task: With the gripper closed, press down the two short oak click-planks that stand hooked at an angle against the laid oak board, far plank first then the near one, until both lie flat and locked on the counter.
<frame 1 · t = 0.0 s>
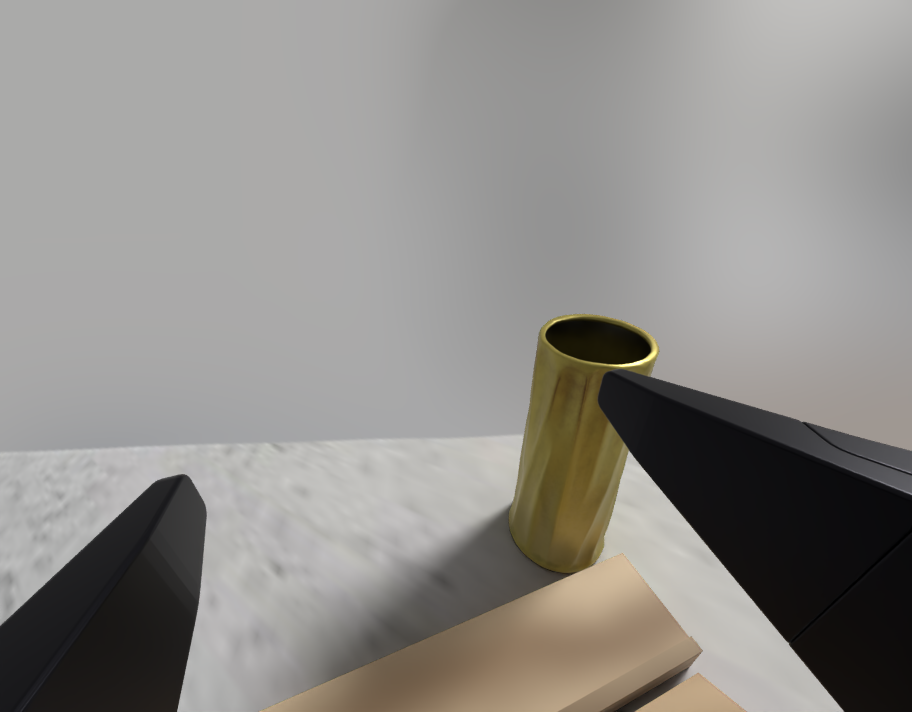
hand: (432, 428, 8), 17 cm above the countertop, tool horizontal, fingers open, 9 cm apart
laid board: (486, 695, 16), on the countertop
vase: (554, 528, 24), on the countertop
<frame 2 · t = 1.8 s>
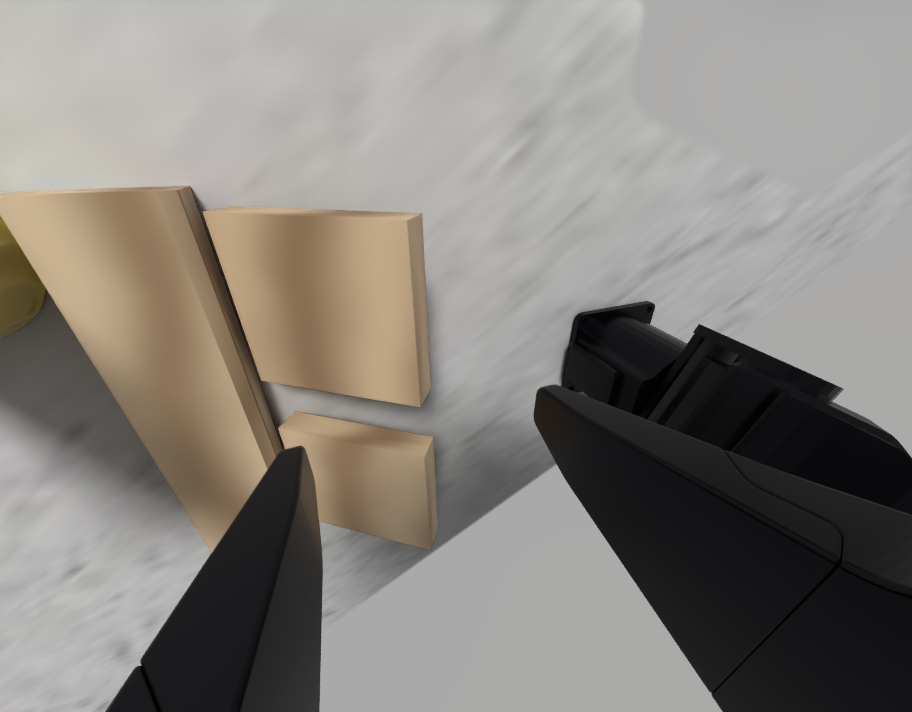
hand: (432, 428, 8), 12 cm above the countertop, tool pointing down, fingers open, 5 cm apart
laid board: (207, 401, 18), on the countertop
plank a: (329, 309, 14), point 3 cm above the countertop, hinge at 35.0°
plank b: (364, 482, 20), point 3 cm above the countertop, hinge at 35.0°
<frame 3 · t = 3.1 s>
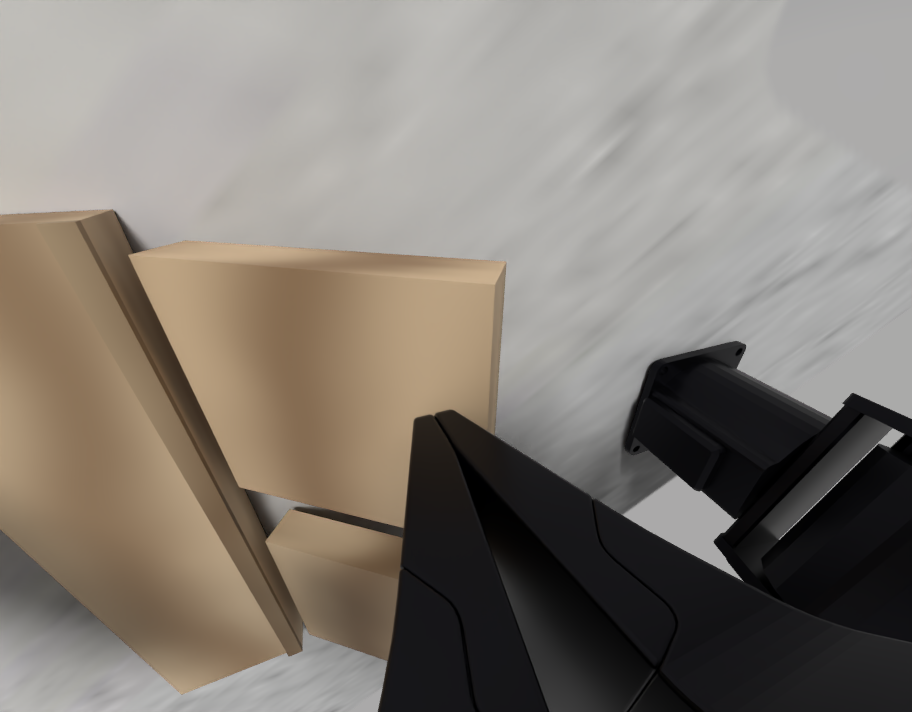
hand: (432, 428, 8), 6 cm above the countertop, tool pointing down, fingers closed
laid board: (164, 507, 13), on the countertop
plank a: (340, 401, 9), point 3 cm above the countertop, hinge at 35.0°, touching gripper
plank b: (384, 602, 15), point 3 cm above the countertop, hinge at 35.0°
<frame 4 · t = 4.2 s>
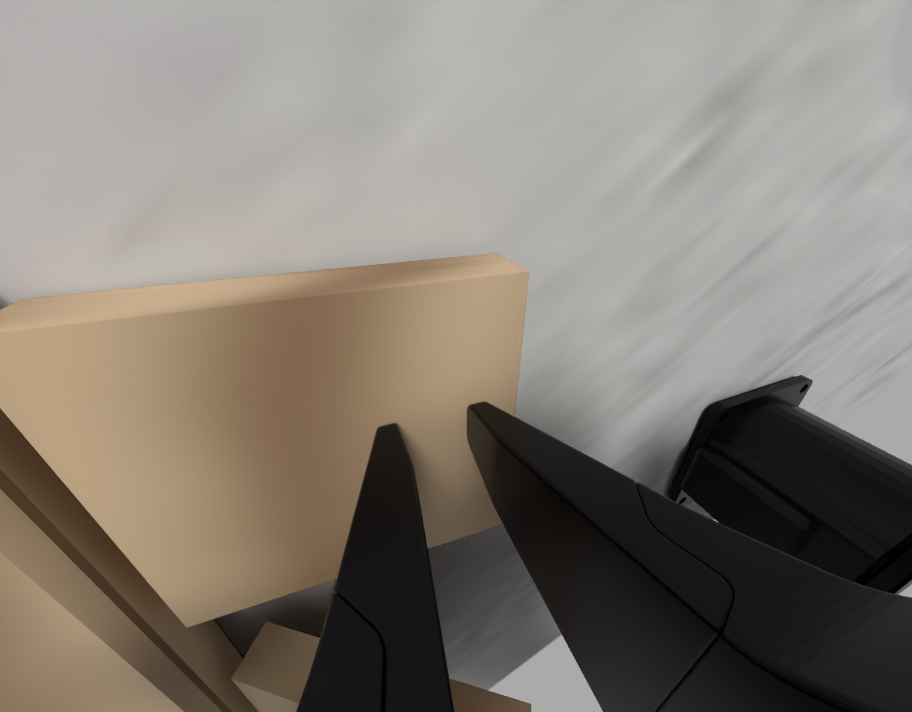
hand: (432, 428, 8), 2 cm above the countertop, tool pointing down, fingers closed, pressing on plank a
laid board: (90, 642, 9), on the countertop
plank a: (336, 446, 8), point 1 cm above the countertop, hinge at 2.8°, touching gripper
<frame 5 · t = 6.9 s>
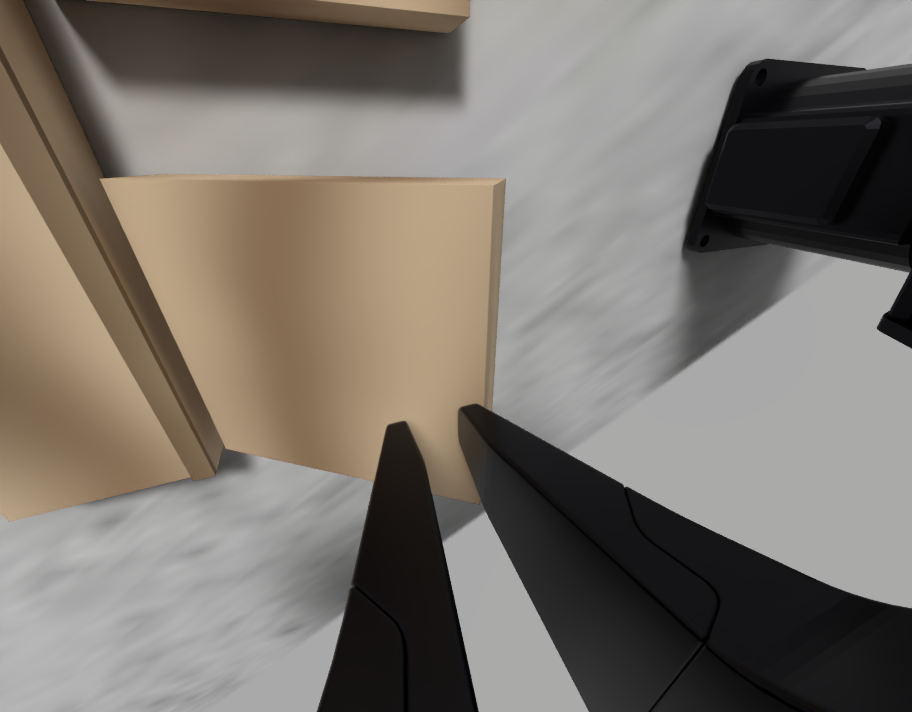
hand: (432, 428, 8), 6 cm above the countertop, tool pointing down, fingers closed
plank b: (330, 348, 9), point 3 cm above the countertop, hinge at 34.8°, touching gripper
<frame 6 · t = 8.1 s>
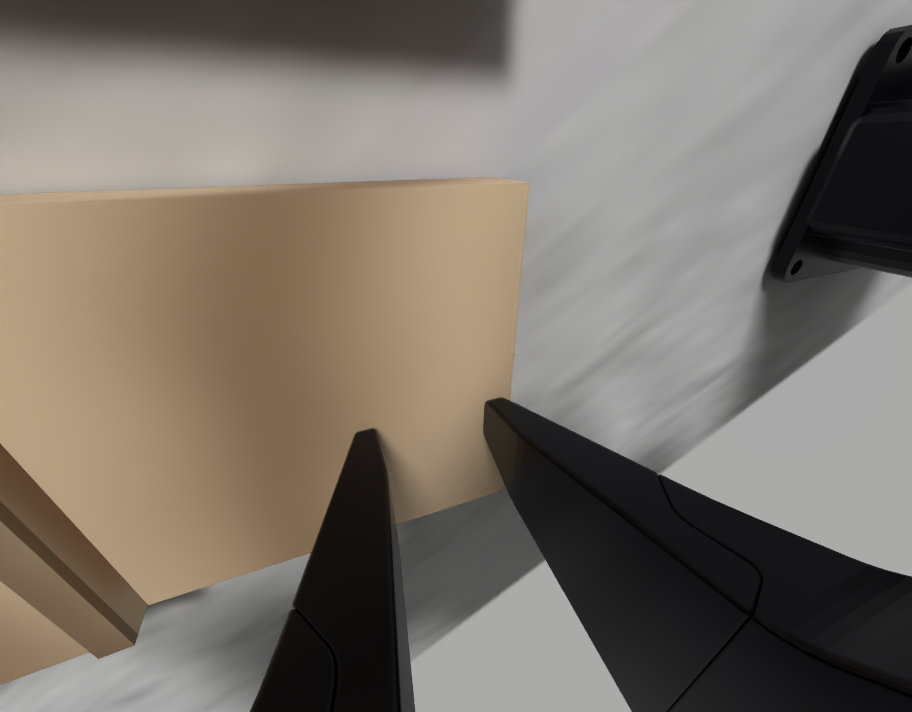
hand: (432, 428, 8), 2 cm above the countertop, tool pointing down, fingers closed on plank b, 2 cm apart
plank b: (315, 397, 7), point 1 cm above the countertop, hinge at 1.7°, touching gripper
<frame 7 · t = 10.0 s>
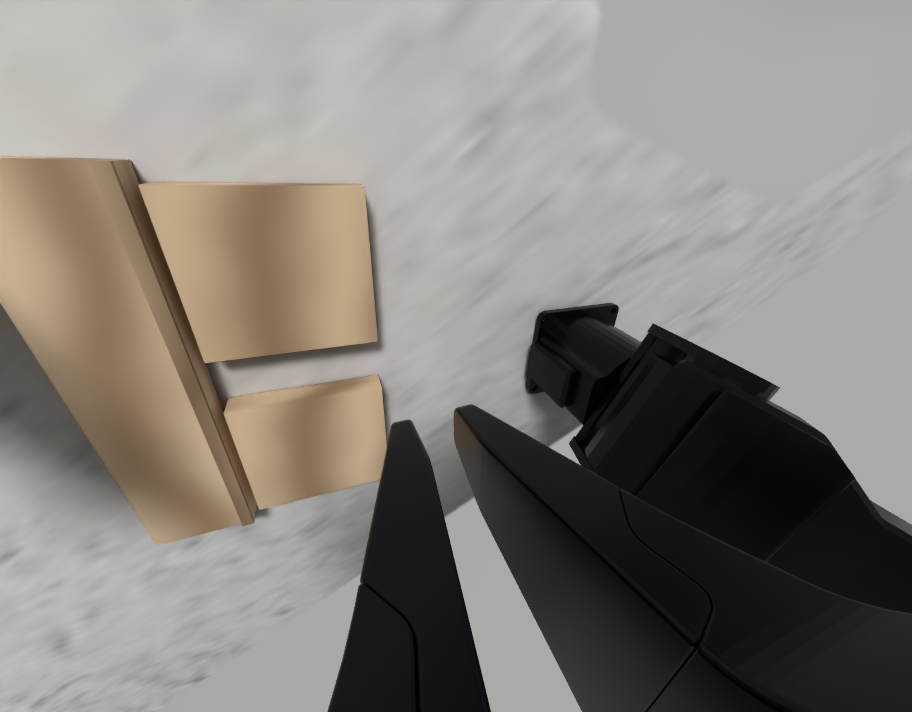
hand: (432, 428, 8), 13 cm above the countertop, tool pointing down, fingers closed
laid board: (151, 383, 17), on the countertop
plank a: (282, 274, 16), point 1 cm above the countertop, hinge at 0.5°
plank b: (318, 442, 22), point 1 cm above the countertop, hinge at 0.2°
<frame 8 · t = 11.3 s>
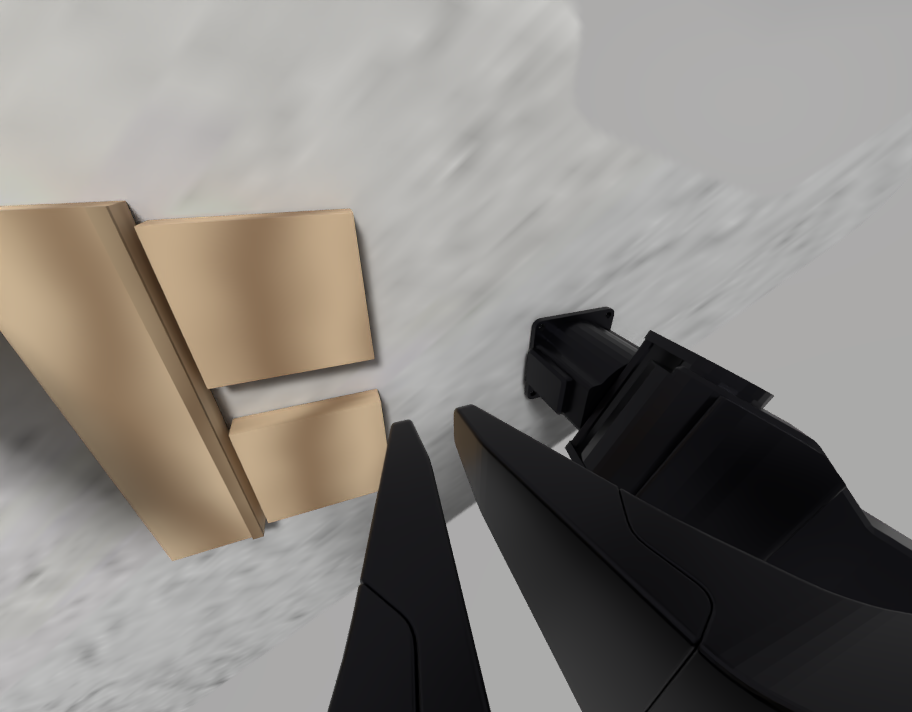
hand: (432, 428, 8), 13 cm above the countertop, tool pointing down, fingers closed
laid board: (158, 409, 18), on the countertop
plank a: (277, 299, 17), point 1 cm above the countertop, hinge at 0.5°
plank b: (322, 456, 22), point 1 cm above the countertop, hinge at 0.2°
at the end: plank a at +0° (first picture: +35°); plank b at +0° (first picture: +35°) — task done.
